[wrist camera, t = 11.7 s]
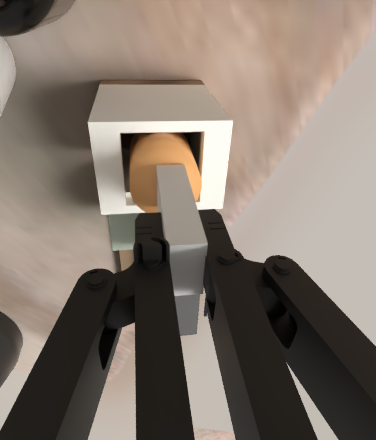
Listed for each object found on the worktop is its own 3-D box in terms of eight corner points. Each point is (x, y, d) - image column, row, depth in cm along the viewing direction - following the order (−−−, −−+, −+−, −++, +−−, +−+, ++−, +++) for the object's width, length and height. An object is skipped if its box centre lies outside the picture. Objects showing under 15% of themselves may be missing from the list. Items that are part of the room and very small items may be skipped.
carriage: (114, 221, 30) (106, 348, 19) (108, 173, 27) (95, 292, 16) (198, 216, 31) (234, 334, 20) (201, 170, 28) (245, 279, 17)
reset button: (131, 178, 23) (132, 218, 18) (127, 121, 20) (127, 154, 16) (187, 176, 23) (199, 215, 19) (189, 121, 21) (204, 152, 17)
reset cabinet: (108, 158, 27) (101, 214, 20) (99, 84, 24) (87, 122, 17) (200, 156, 28) (222, 208, 22) (204, 84, 25) (233, 120, 18)
